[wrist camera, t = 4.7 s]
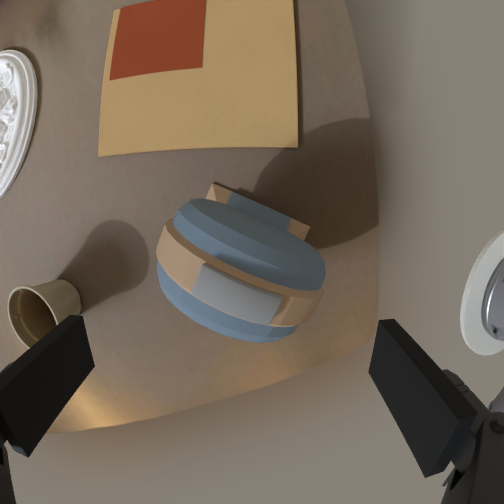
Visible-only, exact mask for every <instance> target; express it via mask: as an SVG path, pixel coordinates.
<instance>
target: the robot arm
mask: <svg viewBox="0 0 504 504" xmlns="http://www.w3.org/2000/svg"><path fill="white" fill-rule="evenodd" d="M481 318H482V324H483V327H484V329H485V331H486V332H487V333H488V334H489V335H491V336H492V337H493V338H495V339H497V340H501V341H504V258H503V259H502V260H501V261H500V263H499V264H498V265H497V267H496V268H495V270H494V271H493V273H492V275H491V277H490V279H489V282H488V284H487V287H486V290H485V293H484V297H483V302H482V309H481ZM94 367H95V365H94V361H93V357H92V353H91V350H90V346H89V342H88V337H87V333H86V329H85V324H84V320H83V316H79V315H69V316H67V317H66V318H65V319H64V320H63V321H61V322H60V323H59V324H58V325H57V326H55V327H54V328H53V329H52V330H51V331H49V332H48V333H47V334H46V335H45V336H43V337H42V338H41V339H40V340H39V341H38V342H36V343H35V344H34V345H33V346H32V347H31V348H29V349H28V350H27V351H26V352H25V353H24V354H23V355H21V356H20V357H19V358H18V359H17V360H16V361H14V362H12V363H10V364H9V365H7V366H6V367H5V368H4V369H3V370H2V371H1V372H0V504H16V500H15V496H14V491H13V486H12V481H11V475H10V468H9V462H8V453H7V450H6V447H5V446H4V443H5V442H6V440H8V442H9V443H10V445H11V446H12V448H13V449H14V451H16V452H18V453H20V454H22V455H24V456H26V457H29V456H30V455H31V453H32V452H33V450H34V449H35V447H36V446H37V444H38V443H39V442H40V440H41V439H42V437H43V436H44V434H45V433H46V432H47V430H48V429H49V427H50V426H51V424H52V423H53V422H54V420H55V419H56V417H57V416H58V415H59V413H60V412H61V411H62V409H63V408H64V406H65V405H66V404H67V402H68V401H69V400H70V398H71V397H72V396H73V394H74V393H75V392H76V390H77V389H78V388H79V386H80V385H81V384H82V382H83V381H84V380H85V378H86V377H87V376H88V374H89V373H90V372H91V371H92V369H93V368H94ZM369 374H370V375H371V377H372V379H373V381H374V383H375V385H376V387H377V388H378V390H379V392H380V394H381V395H382V397H383V399H384V401H385V403H386V405H387V406H388V408H389V410H390V412H391V414H392V415H393V417H394V419H395V421H396V423H397V425H398V426H399V428H400V430H401V432H402V434H403V436H404V438H405V440H406V442H407V444H408V446H409V447H410V449H411V451H412V453H413V455H414V457H415V459H416V461H417V463H418V465H419V467H420V469H421V471H422V473H423V475H424V477H425V478H426V477H429V476H432V475H435V474H438V473H440V472H443V471H444V470H445V469H446V467H447V465H448V464H449V462H450V461H452V462H453V464H454V466H455V468H454V469H453V470H452V472H451V473H450V475H449V476H448V477H447V479H446V480H445V482H444V483H443V485H442V486H445V485H446V484H447V482H448V481H449V482H448V485H447V488H446V491H445V494H444V496H443V499H442V502H441V504H504V387H503V389H502V390H501V392H500V393H499V394H498V395H497V397H496V398H495V399H494V400H493V401H492V402H491V403H490V404H489V406H488V409H487V408H486V407H485V405H484V404H483V403H482V402H481V401H480V400H479V399H478V398H477V397H476V395H475V394H474V393H473V392H472V391H470V389H469V388H468V386H467V385H464V382H463V381H462V380H461V379H460V378H459V377H458V376H457V375H456V374H454V373H452V372H451V371H449V370H446V369H445V370H441V369H440V368H439V367H438V366H437V365H436V363H435V362H434V361H433V360H432V359H431V358H430V357H429V356H428V355H427V354H426V352H425V351H423V349H422V348H421V347H420V346H419V345H418V344H417V343H416V342H415V341H414V340H413V339H412V337H411V336H410V335H409V334H408V333H407V332H406V331H405V330H404V329H403V328H402V327H401V326H400V325H399V324H398V323H397V322H396V320H395V319H388V320H379V322H378V327H377V333H376V338H375V343H374V348H373V354H372V358H371V363H370V367H369Z"/></svg>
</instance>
